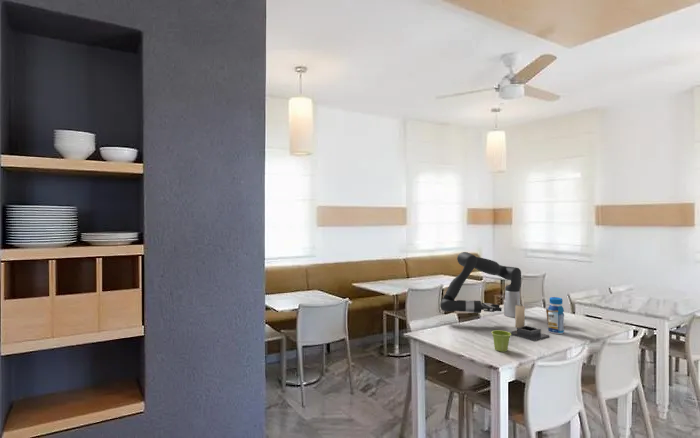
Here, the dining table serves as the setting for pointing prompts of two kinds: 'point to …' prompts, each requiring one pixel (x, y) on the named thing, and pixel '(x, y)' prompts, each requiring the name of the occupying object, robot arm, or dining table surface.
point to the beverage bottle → (556, 316)
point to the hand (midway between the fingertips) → (500, 307)
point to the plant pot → (501, 340)
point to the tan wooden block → (519, 316)
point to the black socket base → (529, 333)
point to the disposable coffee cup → (547, 310)
